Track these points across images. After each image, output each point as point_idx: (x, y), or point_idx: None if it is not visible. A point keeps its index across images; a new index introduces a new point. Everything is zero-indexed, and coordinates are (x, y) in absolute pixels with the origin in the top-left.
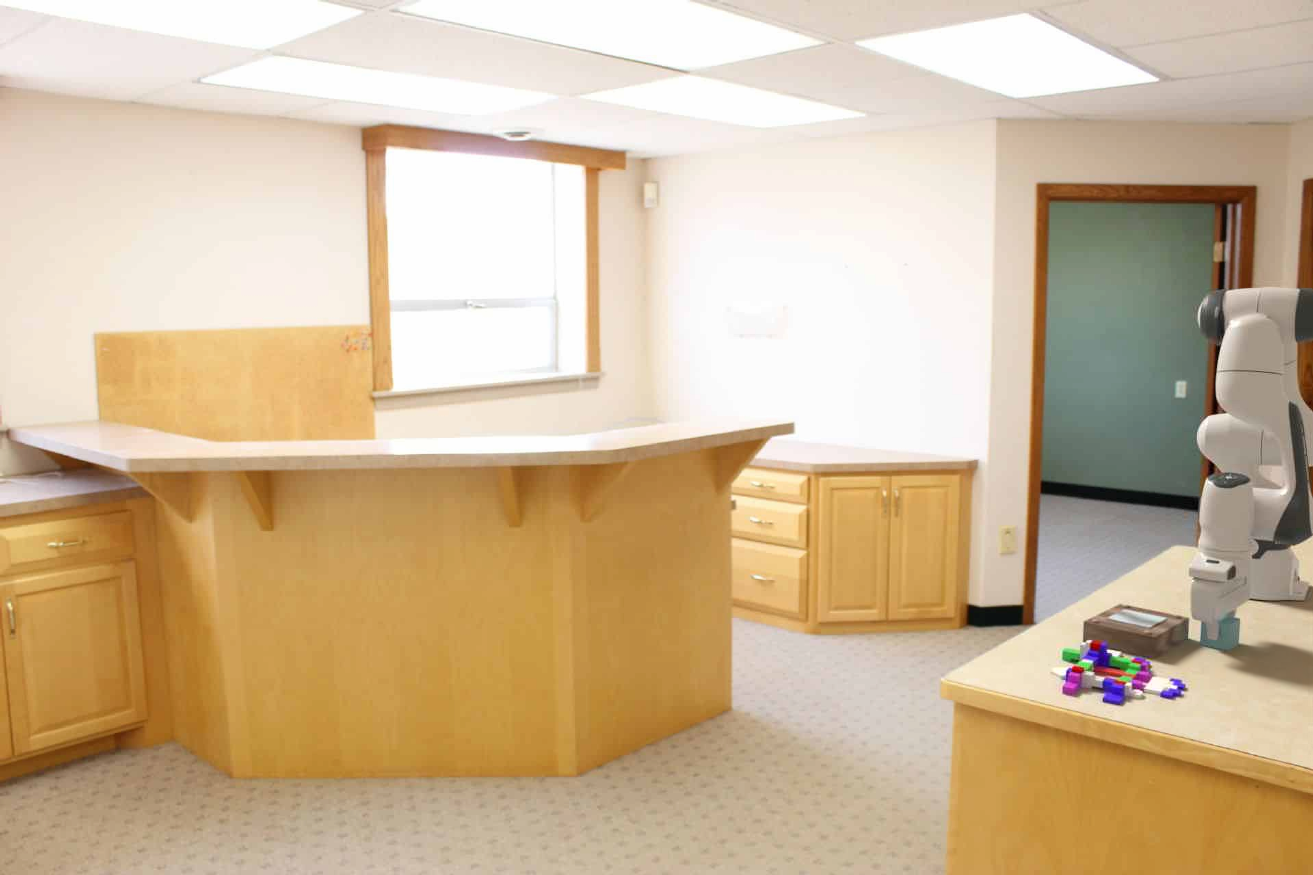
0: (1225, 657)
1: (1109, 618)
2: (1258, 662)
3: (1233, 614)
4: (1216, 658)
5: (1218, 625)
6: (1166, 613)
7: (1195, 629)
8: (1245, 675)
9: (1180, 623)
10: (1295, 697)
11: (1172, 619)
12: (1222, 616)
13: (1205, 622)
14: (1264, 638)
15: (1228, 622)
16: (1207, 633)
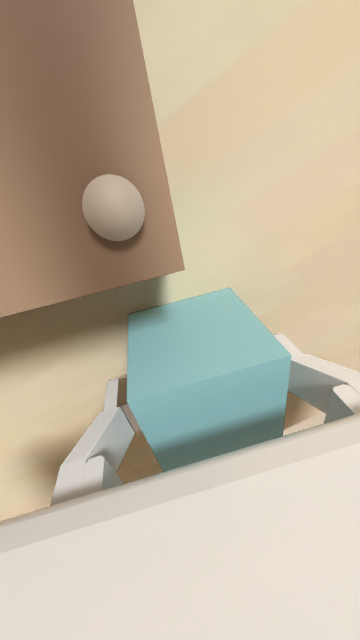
0: (93, 410)
1: None
2: (137, 446)
3: (323, 410)
4: (58, 408)
5: (116, 466)
6: (122, 30)
7: (316, 171)
8: (26, 484)
9: (23, 308)
10: None
11: (9, 230)
12: (262, 408)
13: (68, 456)
14: (338, 355)
15: (187, 461)
16: (105, 394)
